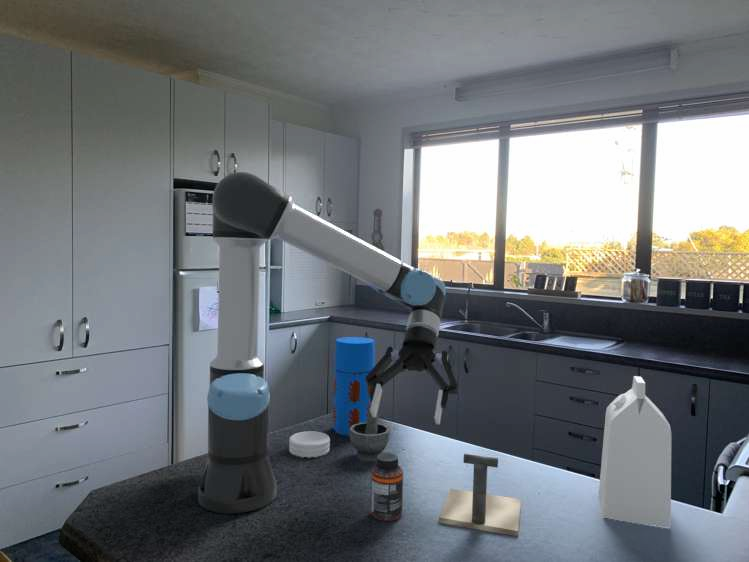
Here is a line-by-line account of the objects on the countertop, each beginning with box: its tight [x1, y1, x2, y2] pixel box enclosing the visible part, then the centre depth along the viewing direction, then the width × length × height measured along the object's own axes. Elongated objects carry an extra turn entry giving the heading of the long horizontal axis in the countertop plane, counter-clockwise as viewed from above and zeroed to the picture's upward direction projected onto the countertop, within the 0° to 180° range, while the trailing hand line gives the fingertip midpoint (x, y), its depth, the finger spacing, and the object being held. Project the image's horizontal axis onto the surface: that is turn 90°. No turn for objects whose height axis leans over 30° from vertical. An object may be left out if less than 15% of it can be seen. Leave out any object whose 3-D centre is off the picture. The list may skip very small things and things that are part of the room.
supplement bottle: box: [370, 452, 404, 522], centre depth 103 cm, size 6×6×11 cm
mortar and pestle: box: [349, 403, 391, 463], centre depth 132 cm, size 11×9×12 cm
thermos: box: [333, 336, 376, 437], centre depth 150 cm, size 11×11×25 cm
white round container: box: [288, 430, 331, 459], centre depth 135 cm, size 10×10×4 cm
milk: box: [598, 375, 672, 528], centre depth 107 cm, size 12×12×26 cm
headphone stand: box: [438, 453, 522, 537], centre depth 104 cm, size 14×13×13 cm
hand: (404, 417), depth 113 cm, fingers open, 13 cm apart
